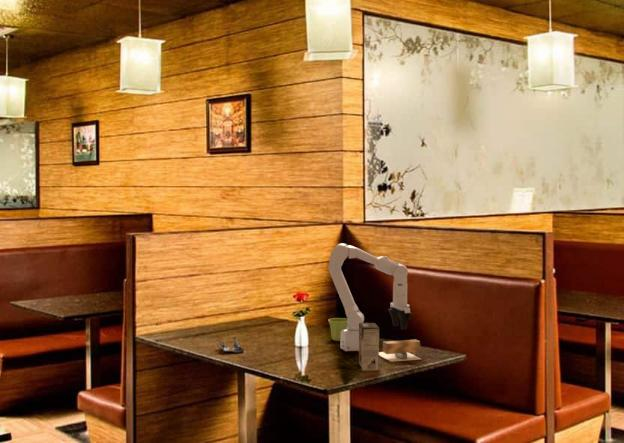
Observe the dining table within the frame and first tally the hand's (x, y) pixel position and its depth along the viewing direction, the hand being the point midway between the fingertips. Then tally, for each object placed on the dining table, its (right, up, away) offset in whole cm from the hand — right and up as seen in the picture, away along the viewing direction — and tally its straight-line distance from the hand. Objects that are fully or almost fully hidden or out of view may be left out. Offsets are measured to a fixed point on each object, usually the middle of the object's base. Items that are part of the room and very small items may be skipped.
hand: (399, 327), depth 326 cm
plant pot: (-24, -9, +24) cm, 35 cm away
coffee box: (-14, -12, -25) cm, 31 cm away
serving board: (-2, -11, -10) cm, 14 cm away
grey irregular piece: (-68, -10, +1) cm, 69 cm away
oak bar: (-1, -8, -12) cm, 15 cm away
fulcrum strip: (-1, -11, -12) cm, 16 cm away
